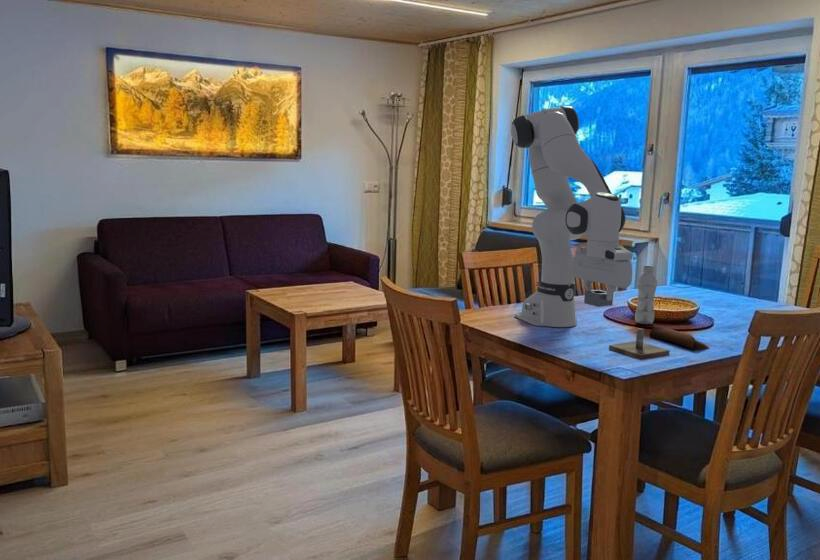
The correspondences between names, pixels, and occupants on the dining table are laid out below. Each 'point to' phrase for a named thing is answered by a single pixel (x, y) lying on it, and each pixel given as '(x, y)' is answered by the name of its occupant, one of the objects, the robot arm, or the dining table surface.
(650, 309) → the plastic bottle
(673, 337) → the brown tapered cylinder
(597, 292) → the ring
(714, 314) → the dining table surface
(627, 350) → the rod on square base
